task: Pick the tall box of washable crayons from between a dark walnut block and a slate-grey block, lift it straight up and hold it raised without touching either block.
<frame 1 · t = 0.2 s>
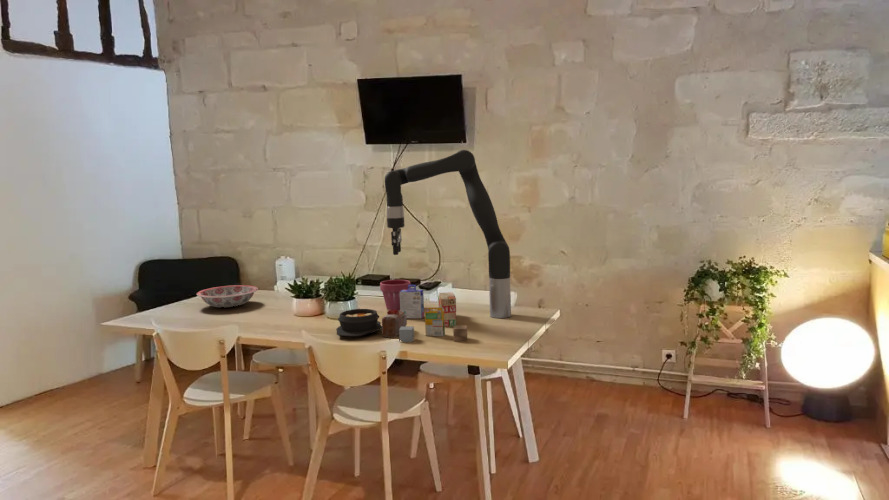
hand: (397, 253, 302), 29 cm above the table, tool pointing down, fingers open, 8 cm apart
slate-grey block: (406, 340, 269), on the table
casserole: (359, 333, 283), on the table
walnut block: (460, 339, 267), on the table
ink cartridge box: (412, 317, 306), on the table
crayon box: (435, 335, 275), on the table
food item: (394, 333, 280), on the table
ceramic bowl: (228, 306, 343), on the table
plant pot: (396, 308, 325), on the table
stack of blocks: (447, 321, 298), on the table
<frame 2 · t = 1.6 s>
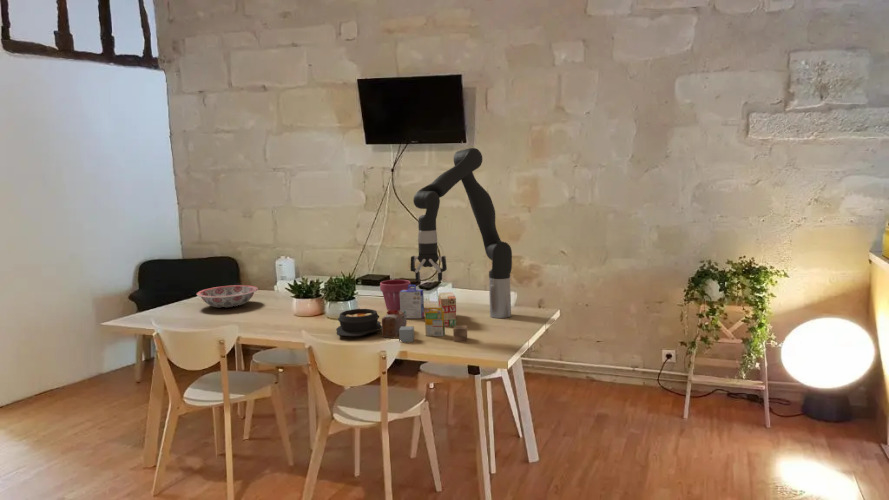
hand: (428, 281, 275), 21 cm above the table, tool pointing down, fingers open, 8 cm apart
nothing on the table moved.
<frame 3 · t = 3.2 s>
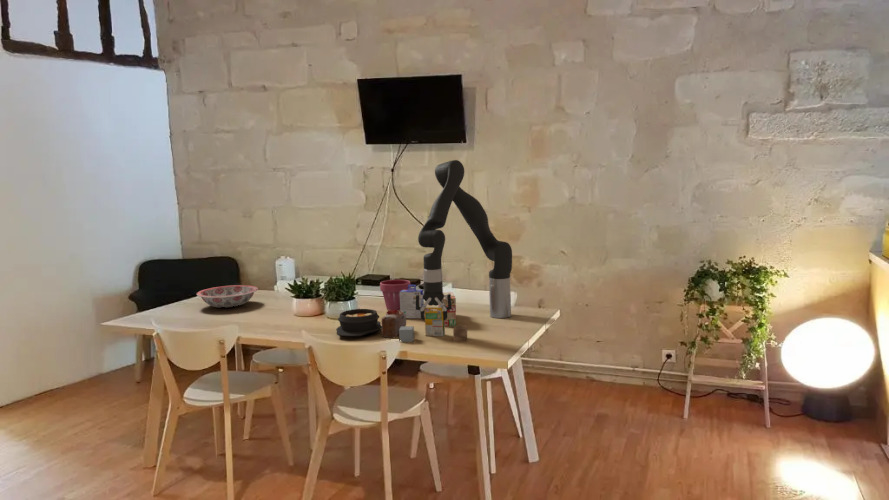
hand: (434, 320, 274), 6 cm above the table, tool pointing down, fingers open, 8 cm apart
crayon box: (435, 335, 275), on the table, touching gripper
everything else where it was.
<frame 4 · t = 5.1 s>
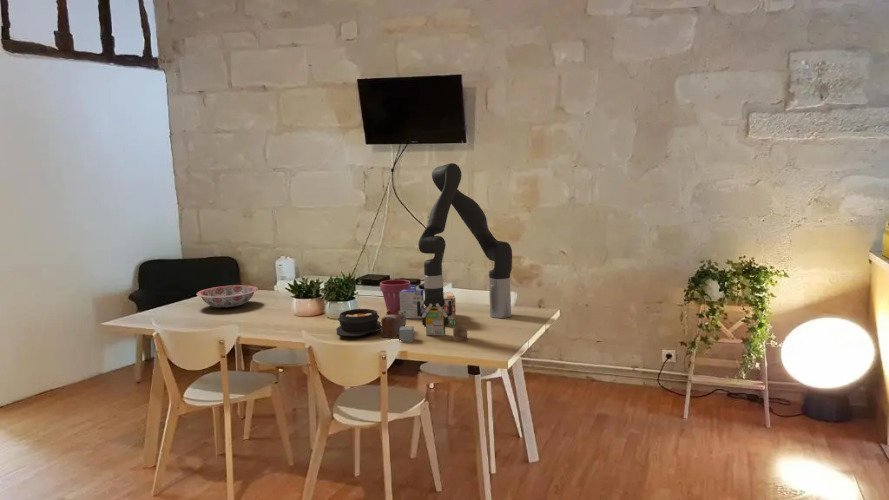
hand: (435, 326, 274), 4 cm above the table, tool pointing down, fingers closed on crayon box, 7 cm apart
crayon box: (435, 335, 275), on the table, touching gripper
everything else where it was.
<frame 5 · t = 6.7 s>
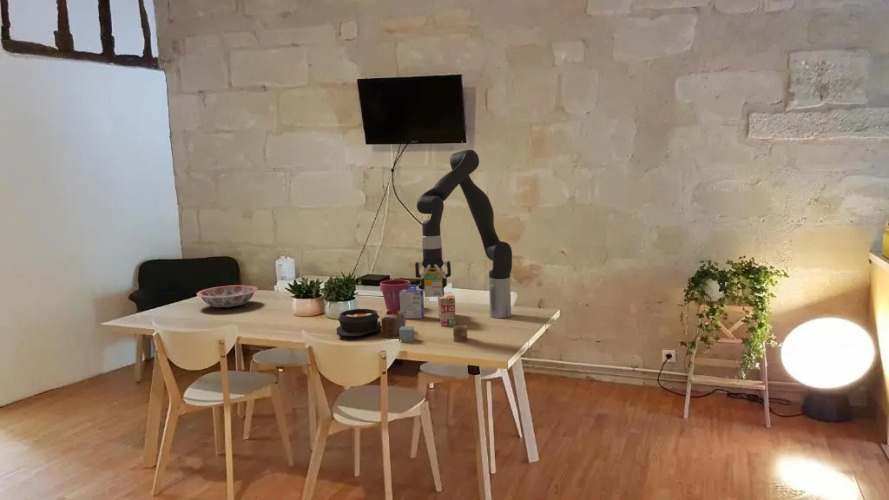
hand: (433, 287, 272), 19 cm above the table, tool pointing down, fingers closed on crayon box, 7 cm apart
crayon box: (434, 296, 273), point 16 cm above the table, touching gripper
everything else where it was.
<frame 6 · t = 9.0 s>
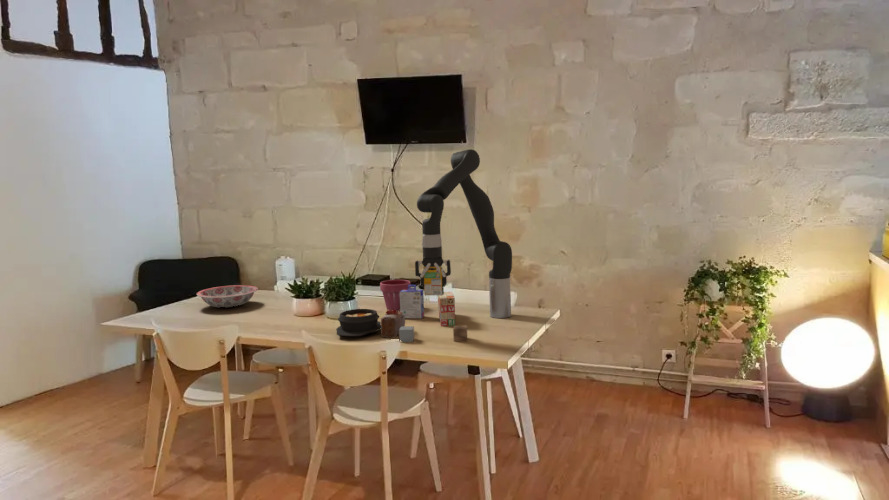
hand: (433, 286, 272), 20 cm above the table, tool pointing down, fingers closed on crayon box, 7 cm apart
crayon box: (434, 295, 273), point 16 cm above the table, touching gripper
at the end: crayon box point 16.2 cm above the table; walnut block moved 0.1 cm from its start; slate-grey block moved 0.1 cm from its start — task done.
